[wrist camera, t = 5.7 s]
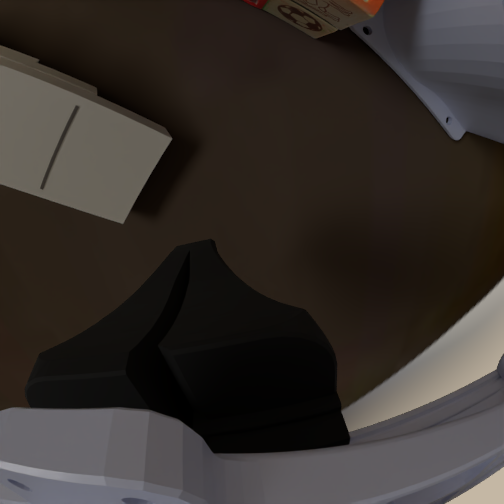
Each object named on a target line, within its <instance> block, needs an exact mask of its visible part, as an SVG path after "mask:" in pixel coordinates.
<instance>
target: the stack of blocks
mask: <svg viewBox="0 0 504 504" xmlns="http://www.w3.org/2000/svg"><path fill="white" fill-rule="evenodd" d="M243 1H245V2H246V3H248V4H250V5H252V6H254V7H256V8H258V9H263V10H265V11H267V12H269V13H271V14H273V15H274V16H276V17H278V18H280V19H282V20H284V21H285V22H287V23H289V24H291V25H292V26H294V27H296V28H298V29H299V30H301V31H303V32H304V33H306V34H308V35H309V36H311V37H313V38H319V37H322V36H325V35H327V34H330V33H333V32H335V31H337V30H338V29H339V30H342V29H344V28H347V27H349V26H352V25H355V24H357V23H360V22H363V21H365V20H368V19H371V18H373V17H374V16H375V15H376V13H377V12H378V11H379V9H380V8H381V6H382V4H383V3H384V1H385V0H243Z"/></svg>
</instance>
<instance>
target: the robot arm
mask: <svg viewBox="0 0 504 504" xmlns="http://www.w3.org/2000/svg"><path fill="white" fill-rule="evenodd" d="M363 27H366V28H367V29H368V31H369V34H368V35H366V34H365V33H364V32H363ZM349 28H350V29H351V30H352V31H353V32H354V33H355V34H356V35H357V36H358V37H360V38H361V39H362V40H363V41H364V42H365V43H366V44H367V45H368V46H369V47H370V48H371V49H373V50H374V51H375V52H376V53H377V54H378V55H379V56H380V57H381V58H382V59H383V60H384V61H385V62H386V63H387V64H388V65H389V66H390V67H391V68H392V69H393V70H394V71H395V72H396V73H397V75H398V76H399V77H400V78H401V79H402V80H403V81H404V82H405V83H406V84H407V85H408V86H409V88H410V89H411V90H412V91H413V92H414V93H415V94H416V95H417V97H418V98H419V99H420V100H421V101H422V102H423V104H424V105H425V106H426V107H427V108H428V110H429V111H430V112H431V113H432V115H433V116H434V117H435V118H436V120H437V121H438V122H439V123H440V125H441V126H442V127H443V128H444V130H445V131H446V132H447V134H448V135H449V136H450V138H452V139H454V140H459V139H460V138H461V137H462V136H463V134H464V133H465V132H466V131H468V132H471V133H474V134H477V135H480V136H483V137H486V138H489V139H492V140H494V141H497V142H500V143H503V144H504V0H385V1H384V3H383V4H382V6H381V8H380V9H379V11H378V12H377V13H376V15H375V16H374V17H373V18H371V19H368V20H365V21H363V22H360V23H357V24H355V25H352V26H349ZM447 117H448V123H446V118H447ZM336 388H337V361H336V356H335V353H334V350H333V348H332V346H331V344H330V343H329V341H328V339H327V338H326V336H325V335H324V333H323V331H322V330H321V329H320V327H319V326H318V325H317V323H316V322H315V321H314V319H313V318H312V317H311V316H310V315H309V313H308V312H307V311H306V310H304V309H301V308H298V307H294V306H290V305H287V304H283V303H280V302H277V301H275V300H273V299H270V298H268V297H266V296H264V295H262V294H260V293H259V292H257V291H255V290H254V289H252V288H251V287H250V286H248V285H247V284H246V283H244V282H243V281H242V280H241V279H240V278H238V277H237V276H236V275H235V274H234V273H233V272H232V271H231V269H230V268H229V267H228V266H227V265H226V264H225V262H224V261H223V260H222V258H221V257H220V255H219V254H218V252H217V248H216V244H215V241H213V240H212V239H208V240H203V241H199V242H194V243H189V244H185V245H180V246H177V247H176V248H175V249H174V250H173V251H172V252H171V253H170V254H169V255H168V257H167V258H166V259H165V260H164V261H163V262H162V264H161V265H160V266H159V267H158V268H157V270H156V271H155V272H154V273H153V274H152V275H151V276H150V277H149V278H148V279H147V280H146V282H145V283H144V284H143V285H142V286H141V287H140V288H139V289H138V290H137V291H136V292H135V293H134V294H133V295H132V296H131V297H130V298H128V299H127V300H126V301H125V302H124V303H123V304H122V305H120V306H119V307H118V308H117V309H115V310H114V311H113V312H111V313H110V314H109V315H107V316H106V317H104V318H103V319H102V320H100V321H99V322H98V323H96V324H95V325H93V326H91V327H90V328H88V329H87V330H85V331H83V332H82V333H80V334H78V335H77V336H75V337H73V338H71V339H69V340H67V341H65V342H63V343H61V344H59V345H57V346H55V347H53V348H51V349H49V350H47V351H44V352H42V353H40V354H39V356H38V358H37V361H36V363H35V365H34V368H33V370H32V372H31V375H30V377H29V380H28V382H27V385H26V387H25V397H26V399H27V401H28V403H29V405H30V407H31V408H22V407H15V408H10V409H6V410H2V411H0V504H445V503H447V502H449V501H451V500H452V499H454V498H456V497H458V496H459V495H461V494H463V493H464V492H466V491H468V490H469V489H471V488H473V487H474V486H475V485H477V484H479V483H480V482H482V481H484V480H485V479H486V478H488V477H490V476H491V475H492V474H494V473H495V472H497V471H498V470H500V469H501V468H502V467H504V354H503V356H502V357H501V359H500V361H499V364H498V366H497V369H496V370H495V371H493V372H491V373H489V374H487V375H486V376H484V377H482V378H480V379H478V380H476V381H474V382H472V383H471V384H469V385H467V386H465V387H463V388H461V389H459V390H457V391H455V392H452V393H450V394H448V395H446V396H444V397H442V398H440V399H437V400H435V401H433V402H430V403H428V404H426V405H423V406H421V407H419V408H416V409H414V410H411V411H409V412H406V413H404V414H401V415H398V416H396V417H393V418H390V419H388V420H385V421H382V422H379V423H377V424H373V425H371V426H367V427H364V428H361V429H358V430H355V431H352V432H348V429H347V426H346V424H345V421H344V418H343V415H342V413H341V402H340V399H339V397H338V394H337V391H336Z"/></svg>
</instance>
